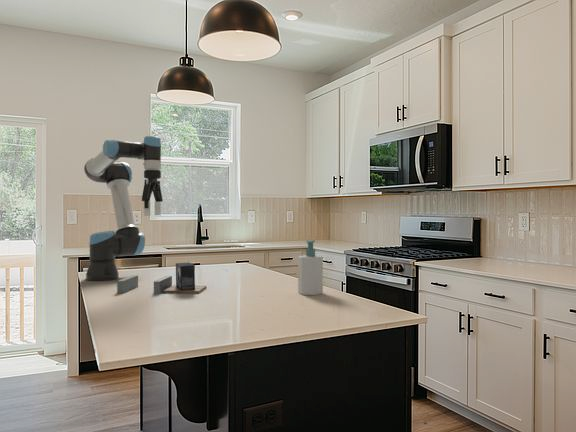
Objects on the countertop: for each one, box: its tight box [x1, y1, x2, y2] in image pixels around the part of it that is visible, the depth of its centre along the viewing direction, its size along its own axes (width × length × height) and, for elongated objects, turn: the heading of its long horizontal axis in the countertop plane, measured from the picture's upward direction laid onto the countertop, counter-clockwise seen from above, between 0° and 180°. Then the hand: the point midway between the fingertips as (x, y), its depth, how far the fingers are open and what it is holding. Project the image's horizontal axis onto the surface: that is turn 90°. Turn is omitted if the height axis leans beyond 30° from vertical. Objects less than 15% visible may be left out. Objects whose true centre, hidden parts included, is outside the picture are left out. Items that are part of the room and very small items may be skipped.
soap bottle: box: [297, 239, 324, 296], centre depth 193 cm, size 10×9×22 cm
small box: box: [175, 261, 196, 291], centre depth 198 cm, size 11×6×10 cm, turn 25°
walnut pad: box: [162, 284, 207, 295], centre depth 198 cm, size 13×15×1 cm
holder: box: [116, 274, 173, 295], centre depth 199 cm, size 16×18×5 cm
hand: (152, 215), depth 216 cm, fingers open, 13 cm apart
